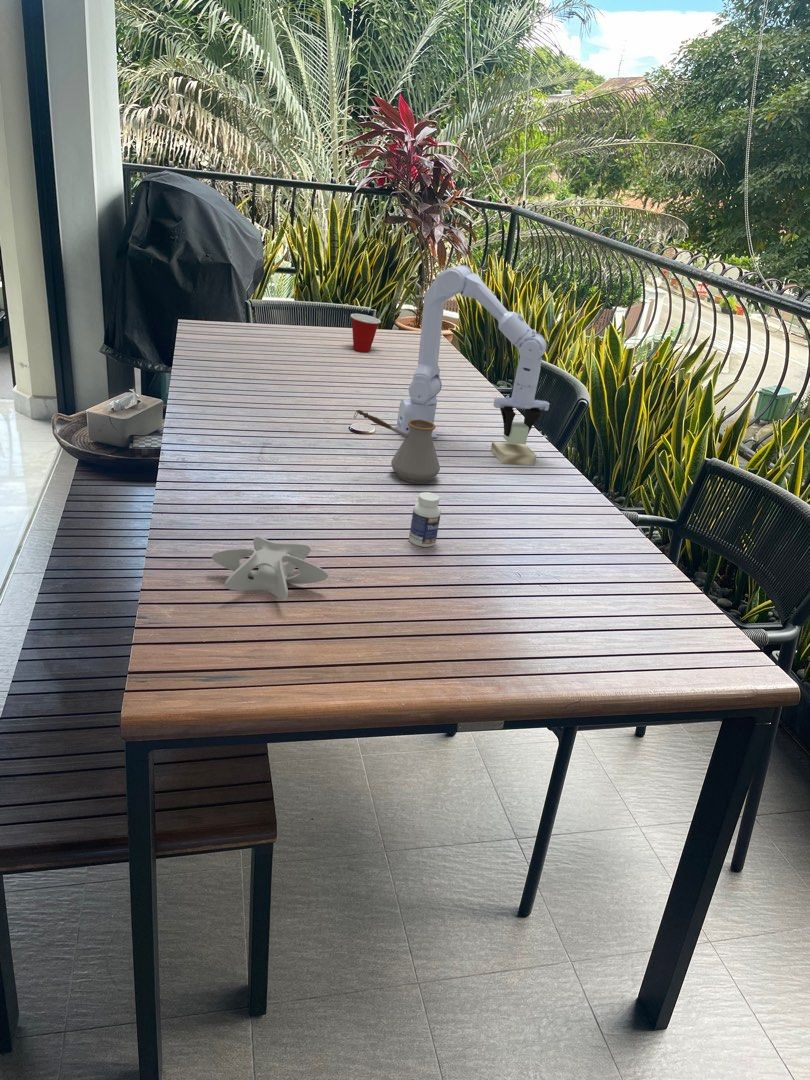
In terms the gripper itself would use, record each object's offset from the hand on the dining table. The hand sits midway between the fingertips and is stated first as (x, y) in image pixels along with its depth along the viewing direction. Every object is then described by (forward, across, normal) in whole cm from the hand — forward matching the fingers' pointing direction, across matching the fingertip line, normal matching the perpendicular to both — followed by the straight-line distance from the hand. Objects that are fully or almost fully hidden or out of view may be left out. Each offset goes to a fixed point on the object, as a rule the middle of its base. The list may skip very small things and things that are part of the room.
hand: (515, 435), depth 215 cm
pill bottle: (+6, -39, -49) cm, 63 cm away
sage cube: (+2, 0, 0) cm, 2 cm away
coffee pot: (+6, -36, -15) cm, 39 cm away
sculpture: (+6, -71, -64) cm, 96 cm away
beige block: (+6, 0, -1) cm, 6 cm away
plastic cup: (+6, -17, +101) cm, 103 cm away
